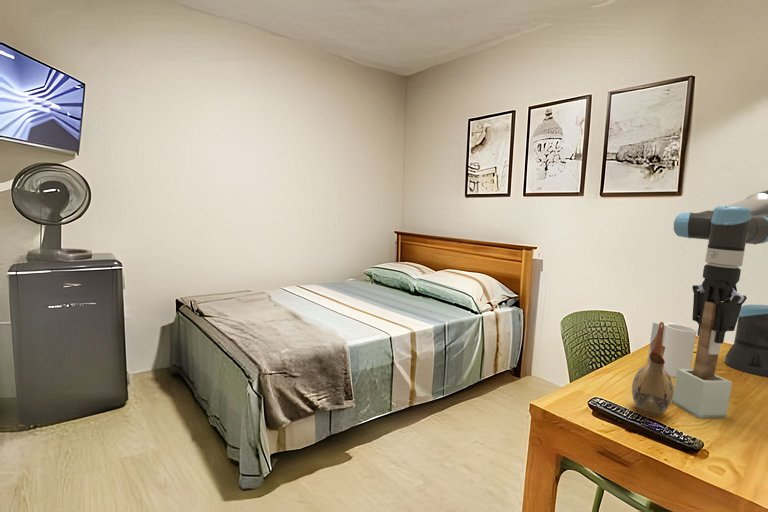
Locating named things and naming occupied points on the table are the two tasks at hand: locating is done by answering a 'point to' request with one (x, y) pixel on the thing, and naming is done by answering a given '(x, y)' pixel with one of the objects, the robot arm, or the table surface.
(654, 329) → the skincare box
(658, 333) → the ceramic vessel
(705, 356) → the brown wooden plank
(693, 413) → the white square tube
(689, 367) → the cup
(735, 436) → the table surface
